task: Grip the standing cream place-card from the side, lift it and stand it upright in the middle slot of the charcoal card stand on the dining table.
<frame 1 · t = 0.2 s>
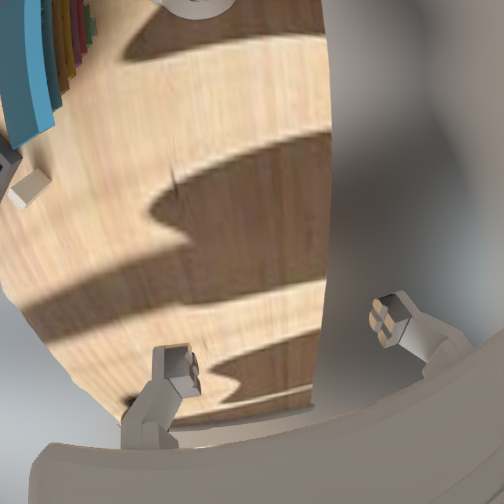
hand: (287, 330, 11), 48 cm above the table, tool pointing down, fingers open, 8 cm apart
place card: (42, 177, 46), on the table
stacked coloured sheets: (46, 54, 32), on the table
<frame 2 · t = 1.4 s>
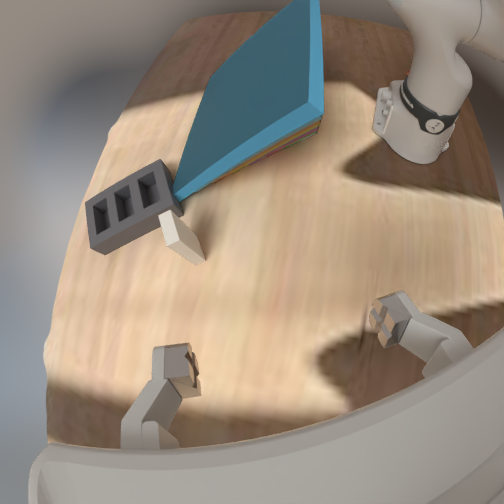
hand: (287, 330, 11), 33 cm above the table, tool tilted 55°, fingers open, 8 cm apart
card stand: (136, 212, 53), on the table
place card: (196, 250, 49), on the table
stacked coloured sheets: (252, 131, 54), on the table
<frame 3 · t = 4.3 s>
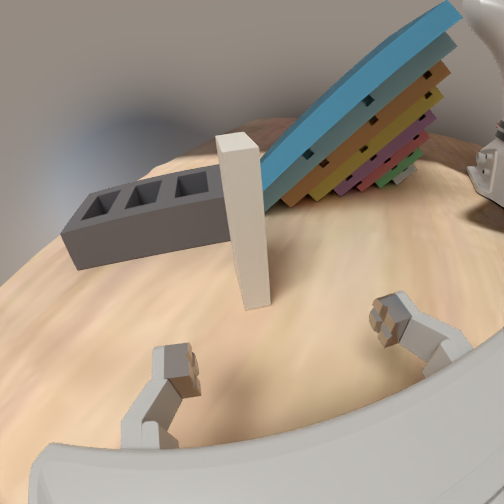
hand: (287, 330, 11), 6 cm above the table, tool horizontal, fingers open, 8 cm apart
card stand: (155, 230, 33), on the table
place card: (251, 286, 23), on the table
stacked coloured sheets: (335, 175, 43), on the table
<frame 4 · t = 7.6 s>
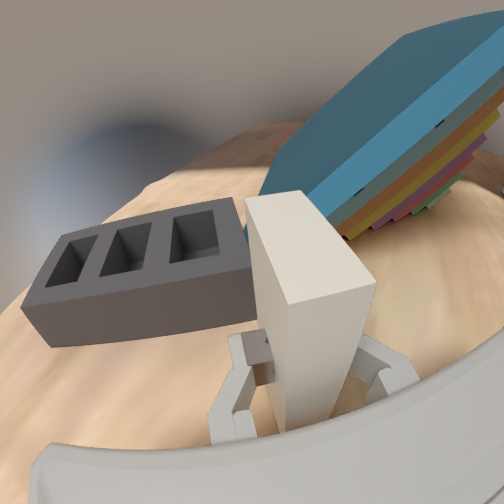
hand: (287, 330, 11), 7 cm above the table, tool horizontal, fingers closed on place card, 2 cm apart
card stand: (146, 291, 24), on the table
place card: (290, 407, 14), on the table, touching gripper
stacked coloured sheets: (358, 198, 36), on the table
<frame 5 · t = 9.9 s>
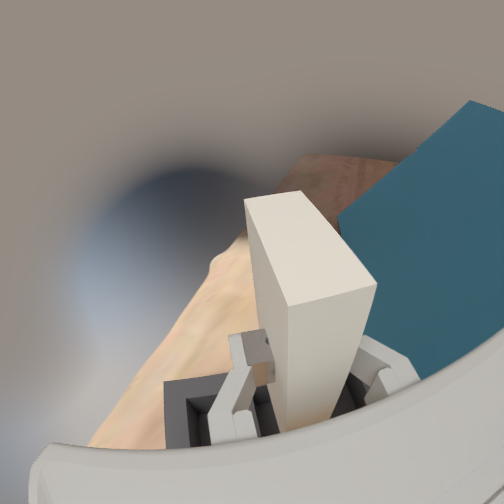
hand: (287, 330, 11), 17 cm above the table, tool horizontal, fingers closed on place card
card stand: (281, 435, 22), on the table
place card: (290, 408, 14), point 11 cm above the table, touching gripper
stacked coloured sheets: (430, 289, 34), on the table
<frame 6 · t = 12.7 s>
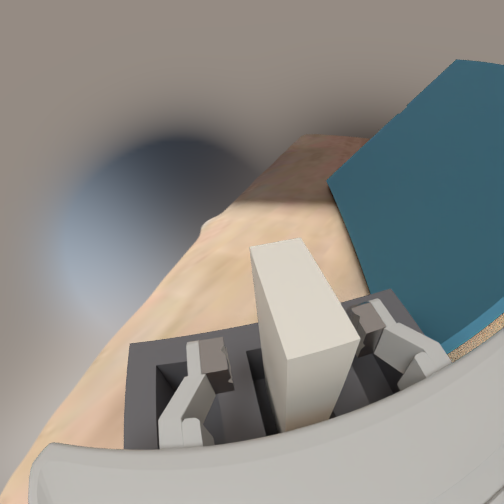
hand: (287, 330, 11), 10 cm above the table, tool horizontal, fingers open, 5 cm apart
card stand: (289, 422, 16), on the table
place card: (289, 418, 15), point 1 cm above the table, touching card stand
stacked coloured sheets: (439, 246, 30), on the table
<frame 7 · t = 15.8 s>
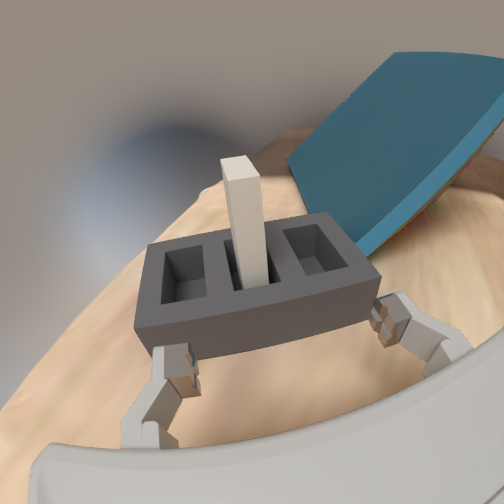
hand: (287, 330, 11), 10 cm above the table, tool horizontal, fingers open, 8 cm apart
card stand: (254, 300, 26), on the table
place card: (253, 293, 26), point 1 cm above the table, touching card stand
stacked coloured sheets: (378, 199, 42), on the table, touching card stand
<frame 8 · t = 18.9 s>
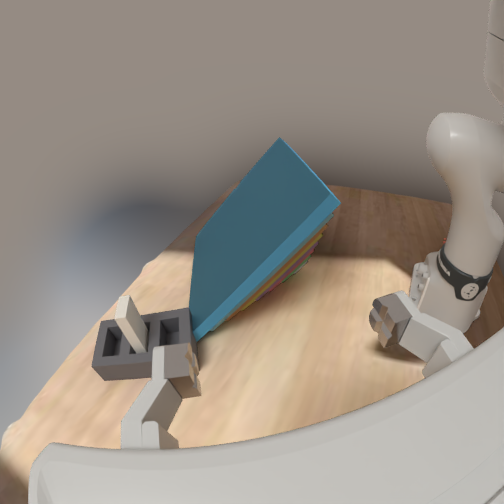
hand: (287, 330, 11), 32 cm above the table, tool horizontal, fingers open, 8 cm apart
card stand: (149, 353, 48), on the table
place card: (147, 350, 47), point 1 cm above the table, touching card stand
stacked coloured sheets: (249, 275, 64), on the table, touching card stand
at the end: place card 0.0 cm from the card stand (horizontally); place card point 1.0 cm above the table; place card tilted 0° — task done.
